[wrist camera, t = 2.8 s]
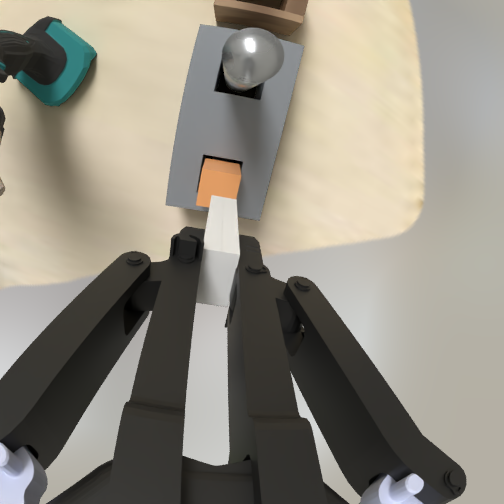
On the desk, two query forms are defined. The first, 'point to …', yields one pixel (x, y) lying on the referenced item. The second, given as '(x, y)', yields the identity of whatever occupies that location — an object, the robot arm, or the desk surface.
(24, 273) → the desk surface
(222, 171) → the plunger
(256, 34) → the cylinder
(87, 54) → the power drill
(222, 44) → the socket block
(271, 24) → the hollow brown square tube
